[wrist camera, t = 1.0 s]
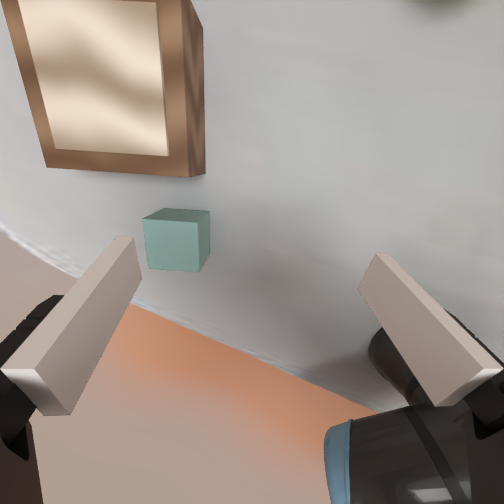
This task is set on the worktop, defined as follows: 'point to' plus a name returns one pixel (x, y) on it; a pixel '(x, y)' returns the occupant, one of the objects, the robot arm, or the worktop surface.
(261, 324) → the worktop surface
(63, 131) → the walnut block
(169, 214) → the teal cube
